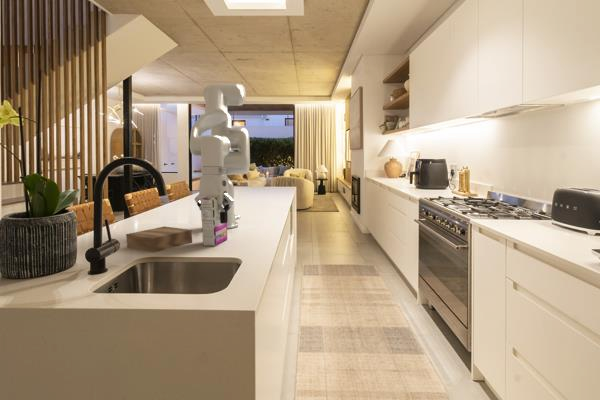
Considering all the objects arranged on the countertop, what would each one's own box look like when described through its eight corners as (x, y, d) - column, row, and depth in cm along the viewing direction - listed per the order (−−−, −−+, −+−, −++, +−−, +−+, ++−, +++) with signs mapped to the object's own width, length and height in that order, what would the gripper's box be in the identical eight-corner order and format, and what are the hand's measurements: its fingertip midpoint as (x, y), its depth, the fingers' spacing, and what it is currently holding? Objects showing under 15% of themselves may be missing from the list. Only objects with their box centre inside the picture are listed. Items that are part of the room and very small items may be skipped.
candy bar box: (215, 239, 151) (213, 194, 149) (227, 239, 150) (226, 194, 148) (201, 246, 140) (199, 198, 138) (215, 246, 139) (213, 198, 137)
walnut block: (165, 239, 153) (164, 226, 152) (192, 243, 145) (191, 229, 145) (127, 248, 139) (126, 234, 138) (154, 253, 132) (154, 238, 131)
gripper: (239, 171, 141) (241, 222, 143) (200, 170, 149) (202, 218, 151) (226, 172, 134) (227, 225, 137) (185, 171, 143) (188, 222, 145)
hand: (214, 221), depth 144 cm, fingers open, 7 cm apart
